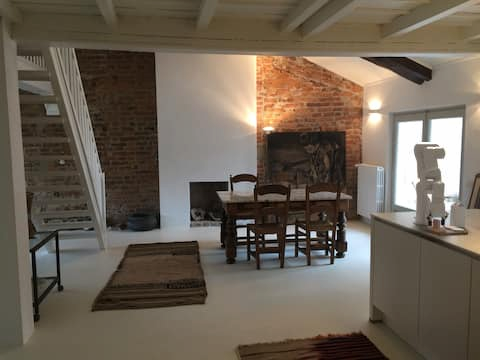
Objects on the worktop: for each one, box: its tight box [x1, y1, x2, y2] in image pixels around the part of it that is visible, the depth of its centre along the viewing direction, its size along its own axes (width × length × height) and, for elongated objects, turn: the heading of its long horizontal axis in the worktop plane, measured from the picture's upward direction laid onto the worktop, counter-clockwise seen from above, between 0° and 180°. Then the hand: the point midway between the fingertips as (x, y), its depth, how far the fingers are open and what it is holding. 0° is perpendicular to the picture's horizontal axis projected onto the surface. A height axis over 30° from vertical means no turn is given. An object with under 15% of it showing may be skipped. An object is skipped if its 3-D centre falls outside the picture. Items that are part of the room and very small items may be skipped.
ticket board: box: [425, 225, 469, 236], centre depth 275 cm, size 16×20×3 cm
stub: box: [426, 218, 446, 232], centre depth 273 cm, size 12×6×7 cm, turn 10°
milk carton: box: [449, 199, 467, 228], centre depth 291 cm, size 7×7×19 cm
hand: (436, 225), depth 273 cm, fingers open, 9 cm apart
